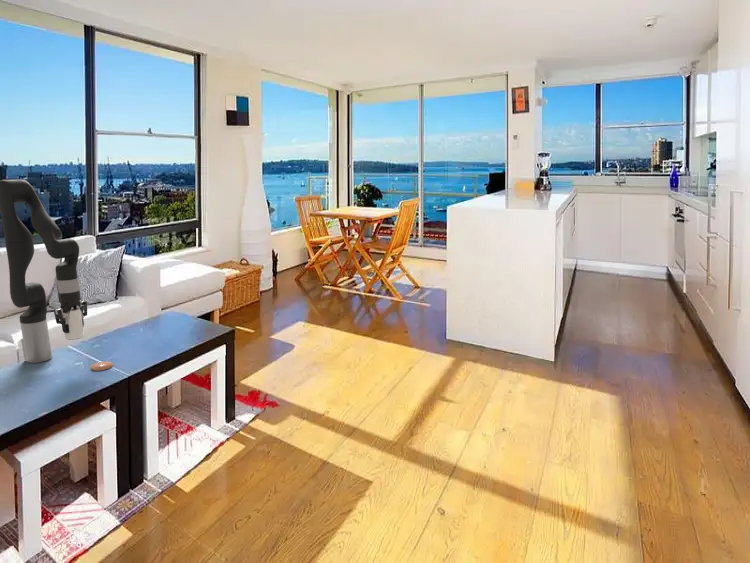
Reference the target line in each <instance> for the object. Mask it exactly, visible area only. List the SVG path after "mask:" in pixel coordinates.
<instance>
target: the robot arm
mask: <svg viewBox="0 0 750 563" xmlns="http://www.w3.org/2000/svg"><path fill="white" fill-rule="evenodd" d="M15 204H26V206H28V207H29V209H30V222H31V225H32V226H31V227H33V229H34V230H35V232H36V233H37V234H38V235H39V237H40V238H41V239H42V242H43V244H44V247H45V249H46V253H47V254H48V255H49V257H51V258H53V259H56V260H60V259H64V260H63V261H62V262H61V263H59V264H57V265H56V266H55V276H56V289H57V299H58V303H60V307H59V308H57V309H56V308H55V309H53V314H54V317H55V321H56V322H55V324H59V325H61V327H62V332H63V333H64V334H65V333H69V324H68V321H69V320H68V319H69V318H70V311H72V310H75V309H80V311H81V316H82V324H83V328H84V327H85V323H84V319H85V316H88V302H87V301H86V300H82V296H81V289H80V283H79V282H80V281H79V278H78V271H77V267H78V261H79V256H80V246H79V244H78V242H77V240H75V239H73V238H65V239H60V238H61V236H62V234H63V233H62V231H61V228H59V226H58V224H56V222H55V221H54V220H53V219H52V217H50V215H49V213H48V212H47V210H46V209H45V207H44V205H43V204H42V202H41V200H40V198H39V196H38V195H37V193H36V191H35V189H34V187H33V186H32V184H30V183H29V182H28V181H27V180H25V179H17V178H16V179H0V216H1V221H2V227H3V233H4V242H5V249H6V255H7V261H8V272H9V294H10V299H11V302H12V304H13V305H14V306H15V307H16V308H20V309H21V308H25V307H26V308H27V307H28V308H27V309H26V310H25V311H24V312H23V313H21V314H20V315H19V322H20V329H21V335H22V338H21V346H22V352H23V359H24V361H26V363H29V364H36V363H42V362H46V361H49V360H50V359H52V358H53V353H52V348H51V347H52V346H51V341H50V333H49V327H48V320H47V313H48V308H47V307H48V306H47V296H46V290H45V288H44V286H43V285H42V284H41V283H40V282H38V281H31V282H28V283H26V273H27V270H28V268H29V265H30V264H31V262H32V259H33V257H34V254H35V246H34V237H33V234H32V232H30V230H29V229H28V228H27V226H26V225H25V224H24V223H23V222H22V220H21V219H20V218H19V216H18V214H17V211H16V207H15ZM68 311H69V312H68ZM63 313H68V315H67V316H63ZM64 318H66V319H65V321H64Z"/></svg>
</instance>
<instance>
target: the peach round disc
mask: <svg viewBox="0 0 750 563" xmlns="http://www.w3.org/2000/svg"><path fill="white" fill-rule="evenodd" d="M113 366H114V364H113V362H112V361H109V360H108V361H107V360H105V361H99V362H95V363H93V364H91V365H90V370H91V371H94V372H100V371H105V370H108V369H110V368H112V367H113Z"/></svg>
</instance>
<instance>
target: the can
mask: <svg viewBox="0 0 750 563" xmlns="http://www.w3.org/2000/svg"><path fill="white" fill-rule="evenodd" d="M68 312H69V311H68ZM67 315H68V313H63V316H67ZM65 319H66V318H64V321H65ZM68 320H69V321H68V324H69V333H64V337H65V339H66V340H69V341H74V340H79V339H81V338H83V337H85V336H84V335H85V334H84V327H83V324H82V316H81V311H80V309H75V310H72V311H70V318H69V319H68Z"/></svg>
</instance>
